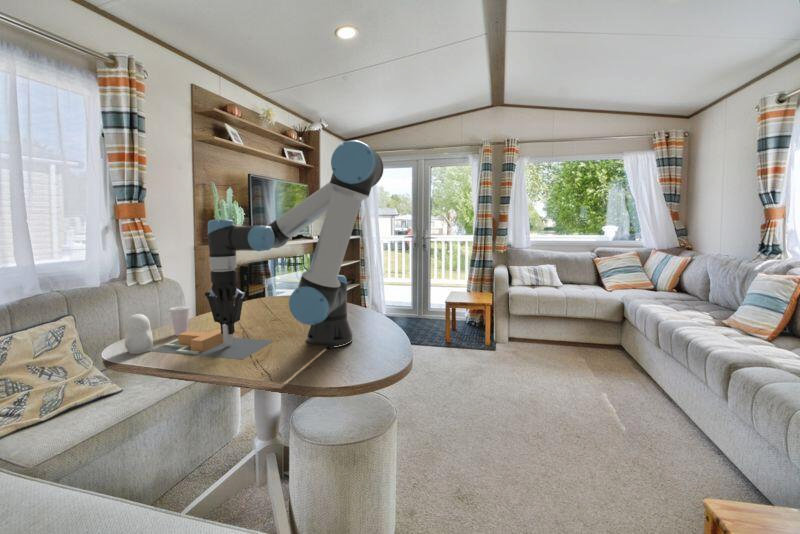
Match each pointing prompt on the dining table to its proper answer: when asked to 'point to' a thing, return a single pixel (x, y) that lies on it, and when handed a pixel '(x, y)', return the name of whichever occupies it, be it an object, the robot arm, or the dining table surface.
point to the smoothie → (180, 318)
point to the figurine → (138, 334)
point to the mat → (224, 349)
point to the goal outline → (183, 347)
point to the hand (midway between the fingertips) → (228, 343)
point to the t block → (201, 339)
